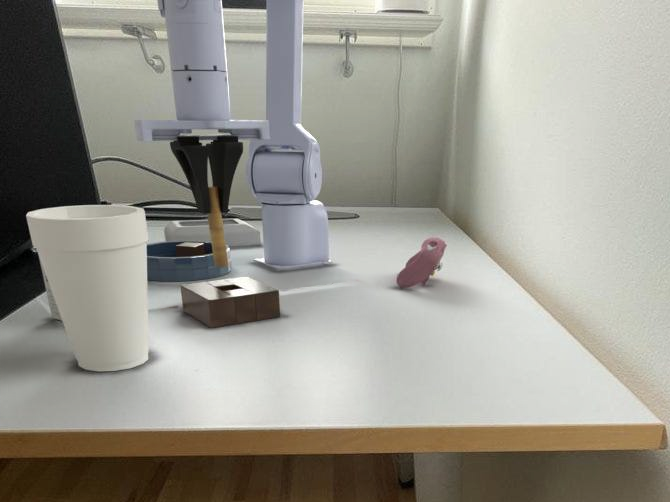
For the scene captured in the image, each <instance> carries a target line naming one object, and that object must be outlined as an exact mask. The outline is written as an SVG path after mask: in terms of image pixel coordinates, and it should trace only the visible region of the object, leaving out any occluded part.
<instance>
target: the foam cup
mask: <svg viewBox="0 0 670 502" xmlns="http://www.w3.org/2000/svg"><path fill="white" fill-rule="evenodd" d="M146 217H147V216H146V211H145V209H144V208H143V207H138V206H133V205H120V204H119V205H118V204H83V205H65V206H55V207H46V208H40V209H35V210H32V211H27V213H26V215H25V218H26V222H27V226H28V231H29V236H30V239H31V244H32V247H35V248H36V251H37V255H38V254H39V255H38V258H39V257H40V260H41V263H42V265H43V268H44V271H45V274H46V277H47V279H48V282H49V285H50V288H51V291H52V293H53V296H54V299H55V302H56V305H57V307H58V310H59V313H60V316H61V319H62V321H61V322H62V324H63V326H64V329H65V333H66V336H67V338H68V341H69V343H70V346H71V349H72V352H73V355H74V358H75V360H77V365H78V367H80V368H82V369H83V370H86V371H91V372H92V371H93V372H116V371H123V370H128V369H132V368H135V367H138V366H140V365H141V366H142V365H143V364H144V363H146V362H147V361H148V360H149V352H150V351H149V350H150V349H149V347H150V346H149V304H148V303H149V302H148V297H149V296H148V295H149V294H148V280H147V244H148V243H147V242H148V241H149V240H150V239H149V231H148V223H147V218H146ZM40 260H39V261H40Z"/></svg>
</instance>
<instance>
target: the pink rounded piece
mask: <svg viewBox="0 0 670 502" xmlns="http://www.w3.org/2000/svg"><path fill="white" fill-rule="evenodd" d="M447 246H448V245H447V243H446V241H445V240H443V239H442V238H440V237H428V238H427V239H425V240H424V241H423V242H422V244H421V247H420V250H419V251H418V252H416V253H415V254H414V255H413V256H411V257H410V258H409V259H408V260H407V262H406V263H405V267H403V268H402V270H400V271H399V273H398V274H397V276H396V280H395V281H396V284H397V286H398V288H401V289H405V288H411V287H414V286H416V285H418V284H419V283H420V284H422V285H424V286H425V285H426V284H427V282H428V281H429V279H430V277H433V276H435V273H436V271H437V272H440V271H441V270H442V268H443V264H444V263H443V262H441V261H442V258H443V256H444V254H445V251H446V248H447Z"/></svg>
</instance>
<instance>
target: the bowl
mask: <svg viewBox="0 0 670 502" xmlns="http://www.w3.org/2000/svg"><path fill="white" fill-rule="evenodd" d="M185 242H190V243H204V249H205V255H201V256H192V257H177V252H176V245H179V244H182V243H185ZM226 250H227V258H228V266H223V267H215V264H214V258H213V251H212V244H211V242H209V241H167V242H166V241H158V242H150V243H147V281H155V282H193V281H202V280H209V279H214V278H217V277H222V276H224V275H227V274H229V273H230V272H231V271H232V270H233V269H232V260H231V248H230V246H228V245H226Z"/></svg>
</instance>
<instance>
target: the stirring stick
mask: <svg viewBox="0 0 670 502" xmlns="http://www.w3.org/2000/svg"><path fill="white" fill-rule="evenodd" d="M208 188H209V196H210V213H208V214H206V216H207V220H208V223H209V230H210V237H211V244H212V251H213V258H214V264H215V267H223V266H228V258H227V250H226V243H225V236H224V229H223V222H222V219H223V216H222V215H223V214H222V212H221V207H220V200H219V193H218V187H213V186H208Z"/></svg>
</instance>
